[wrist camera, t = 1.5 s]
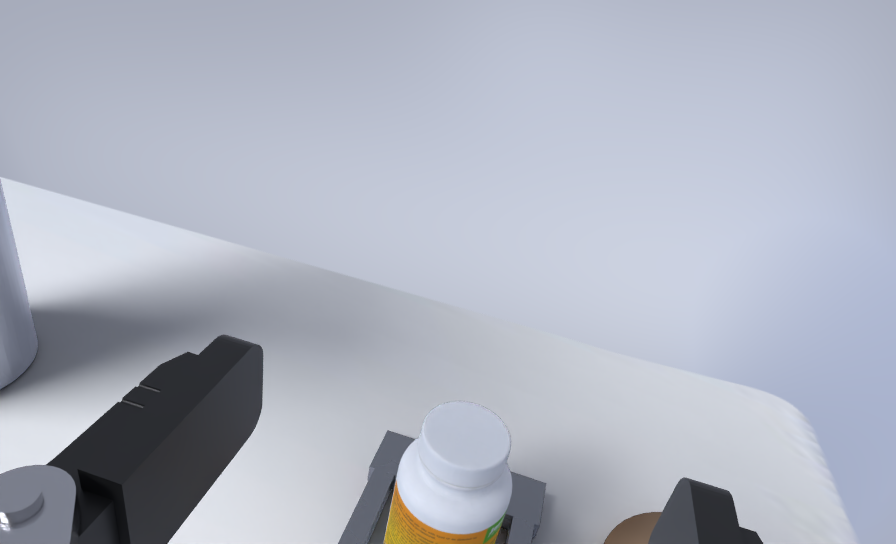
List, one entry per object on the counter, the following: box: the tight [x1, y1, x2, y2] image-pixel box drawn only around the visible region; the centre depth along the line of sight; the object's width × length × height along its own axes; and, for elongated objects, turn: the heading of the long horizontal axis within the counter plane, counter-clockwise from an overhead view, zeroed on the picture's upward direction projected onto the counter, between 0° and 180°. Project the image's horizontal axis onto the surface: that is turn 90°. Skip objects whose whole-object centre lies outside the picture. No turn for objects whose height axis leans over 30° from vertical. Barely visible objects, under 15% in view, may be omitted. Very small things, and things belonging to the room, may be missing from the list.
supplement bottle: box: [383, 401, 512, 544], centre depth 28 cm, size 5×5×10 cm
